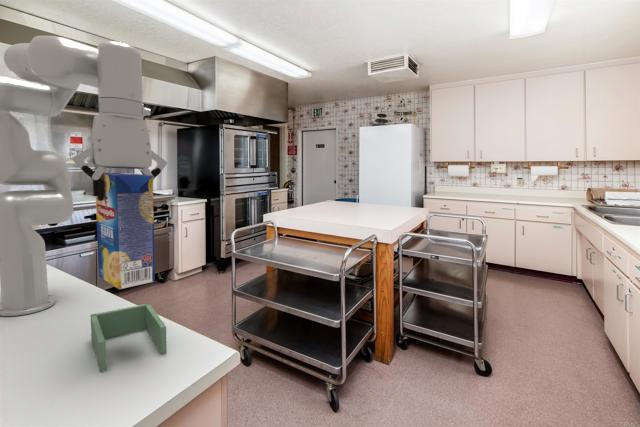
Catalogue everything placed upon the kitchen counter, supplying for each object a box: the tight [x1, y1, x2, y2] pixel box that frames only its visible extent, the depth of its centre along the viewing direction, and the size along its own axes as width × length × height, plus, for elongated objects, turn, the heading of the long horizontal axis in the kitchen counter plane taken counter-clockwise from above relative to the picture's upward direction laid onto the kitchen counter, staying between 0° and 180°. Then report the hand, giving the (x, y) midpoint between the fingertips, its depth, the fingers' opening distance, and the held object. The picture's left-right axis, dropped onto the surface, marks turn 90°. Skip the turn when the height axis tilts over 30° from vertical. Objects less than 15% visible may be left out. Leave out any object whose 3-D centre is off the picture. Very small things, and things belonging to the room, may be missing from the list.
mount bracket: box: [90, 302, 168, 373], centre depth 74 cm, size 15×12×6 cm
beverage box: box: [95, 172, 156, 290], centre depth 70 cm, size 7×11×22 cm, turn 50°
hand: (124, 199), depth 69 cm, fingers closed on beverage box, 7 cm apart
